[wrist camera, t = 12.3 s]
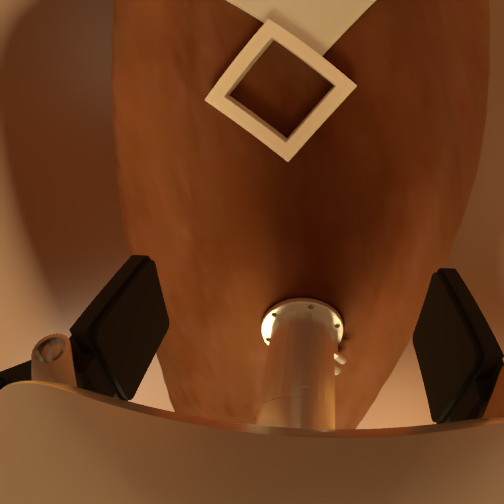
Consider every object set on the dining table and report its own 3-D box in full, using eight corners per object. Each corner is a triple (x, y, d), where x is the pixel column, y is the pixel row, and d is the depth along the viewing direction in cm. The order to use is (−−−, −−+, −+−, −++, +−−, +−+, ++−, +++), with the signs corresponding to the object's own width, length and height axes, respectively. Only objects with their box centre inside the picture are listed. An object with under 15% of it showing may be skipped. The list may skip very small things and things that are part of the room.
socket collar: (353, 85, 28) (357, 85, 26) (289, 156, 34) (288, 162, 32) (271, 22, 26) (268, 18, 24) (211, 98, 32) (204, 100, 30)
